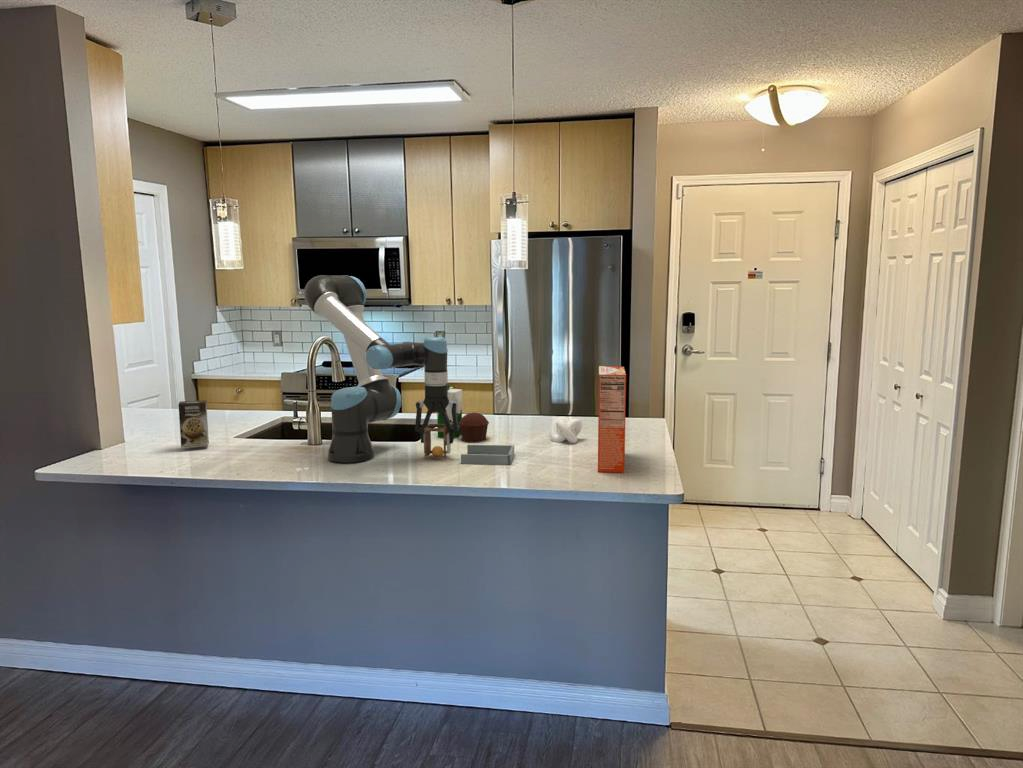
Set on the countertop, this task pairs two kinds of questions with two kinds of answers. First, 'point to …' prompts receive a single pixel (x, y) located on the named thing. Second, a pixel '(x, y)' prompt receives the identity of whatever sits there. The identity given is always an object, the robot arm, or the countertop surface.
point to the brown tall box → (193, 423)
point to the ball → (437, 451)
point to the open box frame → (428, 439)
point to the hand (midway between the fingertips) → (437, 452)
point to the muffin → (473, 427)
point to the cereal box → (611, 419)
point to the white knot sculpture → (565, 429)
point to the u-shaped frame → (476, 457)
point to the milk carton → (453, 396)
